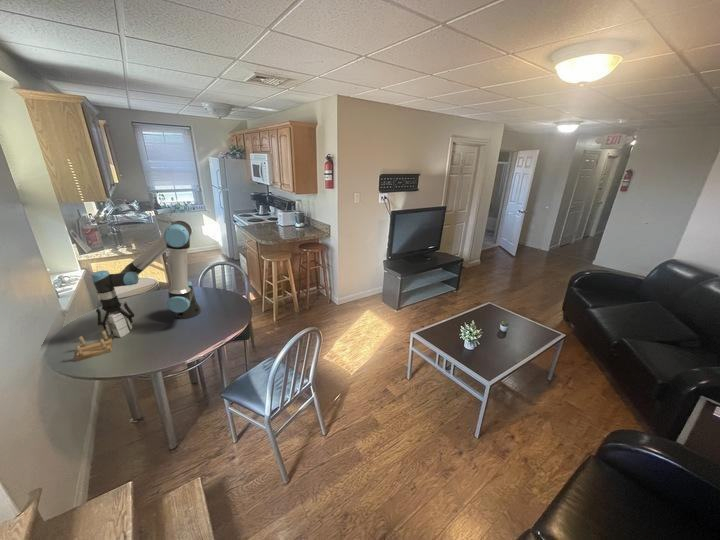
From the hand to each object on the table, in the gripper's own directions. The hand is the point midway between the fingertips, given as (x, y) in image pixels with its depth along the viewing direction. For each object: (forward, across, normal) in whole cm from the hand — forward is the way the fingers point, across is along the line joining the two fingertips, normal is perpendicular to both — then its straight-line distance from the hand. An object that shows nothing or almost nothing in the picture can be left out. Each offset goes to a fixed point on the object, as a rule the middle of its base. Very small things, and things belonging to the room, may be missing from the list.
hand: (120, 330), depth 171 cm
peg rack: (+3, -11, -11) cm, 16 cm away
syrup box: (+3, 0, 0) cm, 3 cm away
